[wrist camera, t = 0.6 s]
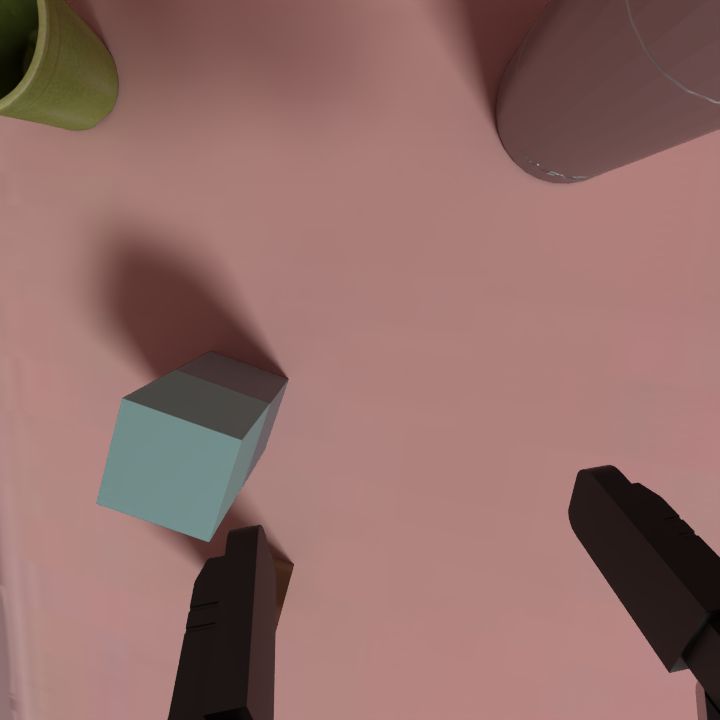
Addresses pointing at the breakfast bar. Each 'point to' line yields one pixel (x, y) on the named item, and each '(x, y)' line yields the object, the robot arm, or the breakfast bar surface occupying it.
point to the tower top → (181, 453)
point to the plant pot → (53, 66)
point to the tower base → (242, 388)
